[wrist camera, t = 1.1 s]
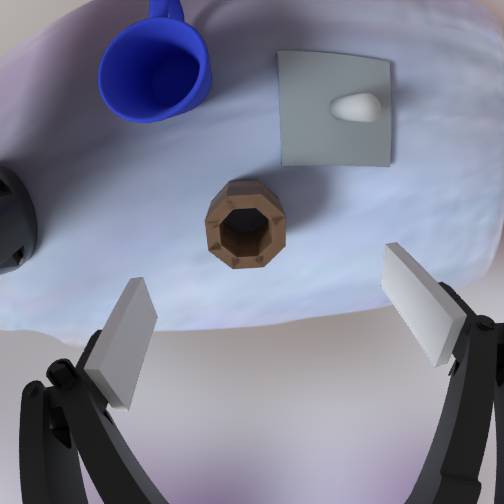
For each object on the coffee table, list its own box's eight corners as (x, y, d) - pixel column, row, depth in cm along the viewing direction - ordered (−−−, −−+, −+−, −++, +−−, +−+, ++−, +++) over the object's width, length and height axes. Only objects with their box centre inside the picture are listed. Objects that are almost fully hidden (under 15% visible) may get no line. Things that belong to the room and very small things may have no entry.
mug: (223, 13, 21) (215, -29, 12) (217, 119, 27) (205, 120, 18) (145, 19, 21) (108, -13, 12) (139, 123, 26) (96, 128, 17)
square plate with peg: (281, 164, 29) (294, 180, 22) (276, 52, 24) (288, 30, 16) (386, 165, 29) (424, 182, 22) (385, 63, 24) (425, 52, 17)
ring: (215, 243, 33) (210, 270, 27) (209, 182, 30) (202, 197, 24) (278, 240, 33) (285, 265, 27) (277, 178, 30) (285, 192, 24)
